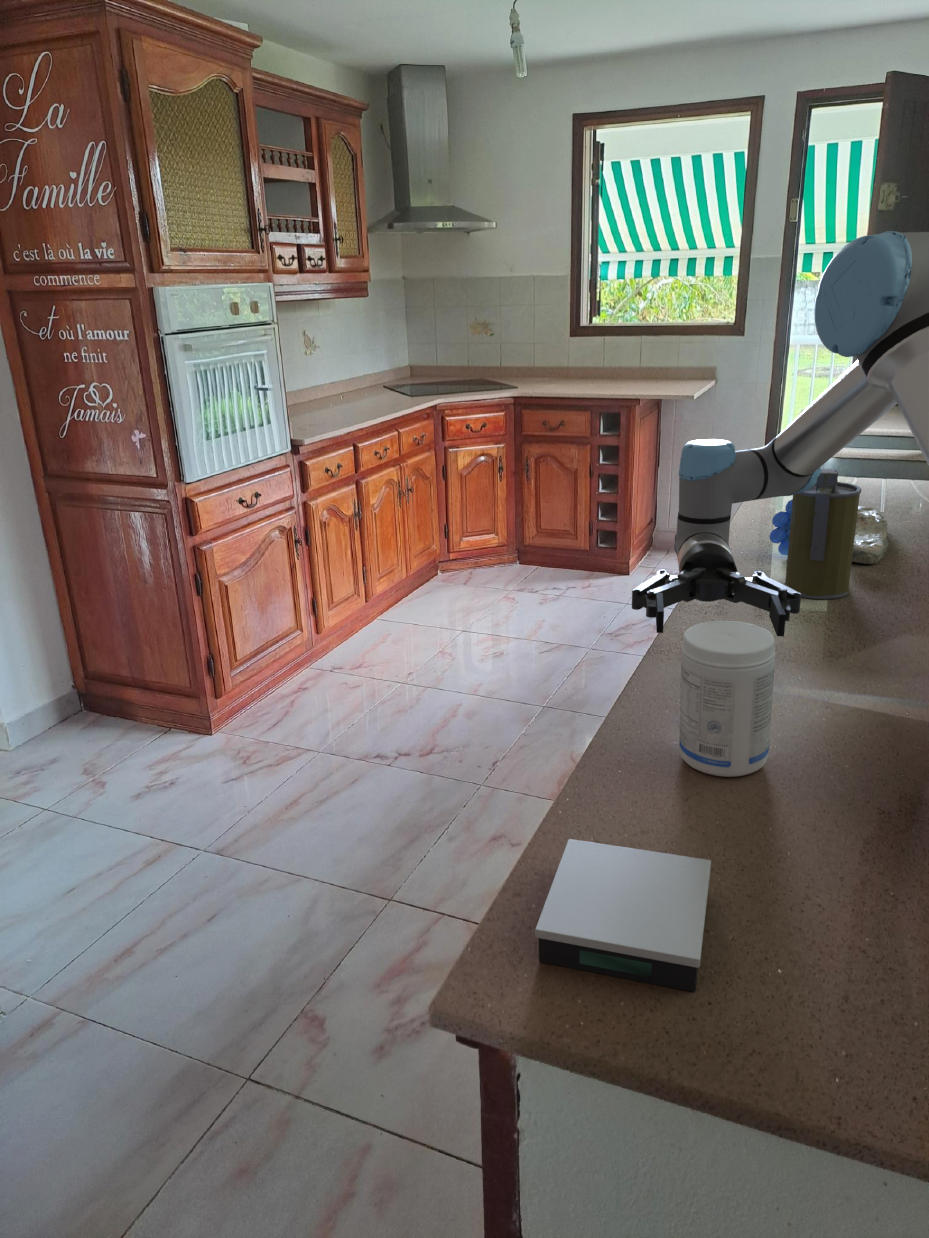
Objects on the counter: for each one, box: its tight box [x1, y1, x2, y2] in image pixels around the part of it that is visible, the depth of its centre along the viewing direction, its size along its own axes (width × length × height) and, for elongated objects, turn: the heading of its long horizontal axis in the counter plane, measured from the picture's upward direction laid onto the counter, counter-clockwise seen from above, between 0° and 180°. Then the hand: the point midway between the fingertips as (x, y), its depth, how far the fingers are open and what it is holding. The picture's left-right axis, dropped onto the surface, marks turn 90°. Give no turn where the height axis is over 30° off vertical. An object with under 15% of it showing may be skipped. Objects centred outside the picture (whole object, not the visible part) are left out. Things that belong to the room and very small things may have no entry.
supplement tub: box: [678, 620, 776, 778], centre depth 95 cm, size 10×10×15 cm
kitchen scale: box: [534, 838, 712, 993], centre depth 72 cm, size 12×12×3 cm
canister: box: [783, 468, 862, 601], centre depth 144 cm, size 11×10×20 cm
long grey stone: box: [852, 505, 890, 565], centre depth 173 cm, size 35×5×10 cm
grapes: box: [769, 498, 793, 556], centre depth 164 cm, size 12×7×12 cm, turn 71°
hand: (720, 624), depth 102 cm, fingers open, 13 cm apart
